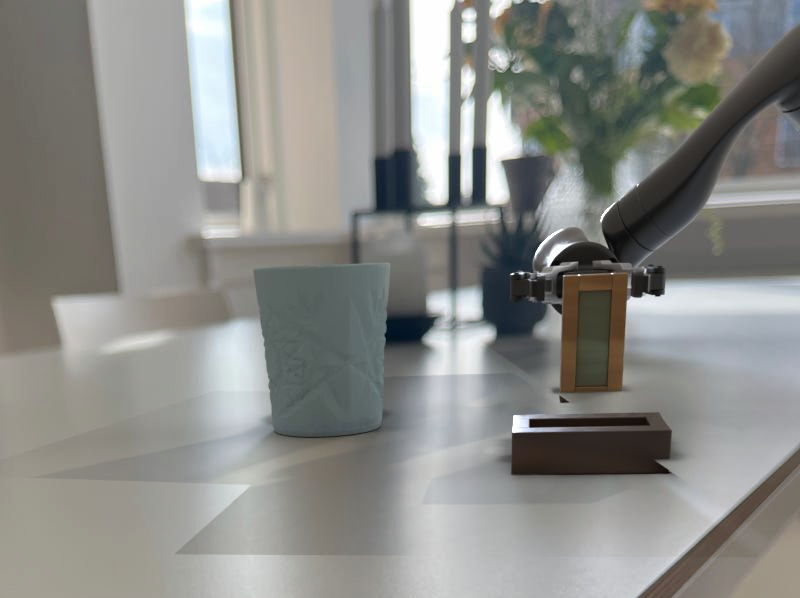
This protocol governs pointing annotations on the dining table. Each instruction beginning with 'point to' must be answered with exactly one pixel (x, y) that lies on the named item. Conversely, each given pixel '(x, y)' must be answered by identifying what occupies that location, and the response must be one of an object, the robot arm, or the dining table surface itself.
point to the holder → (590, 443)
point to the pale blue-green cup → (324, 346)
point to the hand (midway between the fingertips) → (589, 286)
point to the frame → (593, 332)
